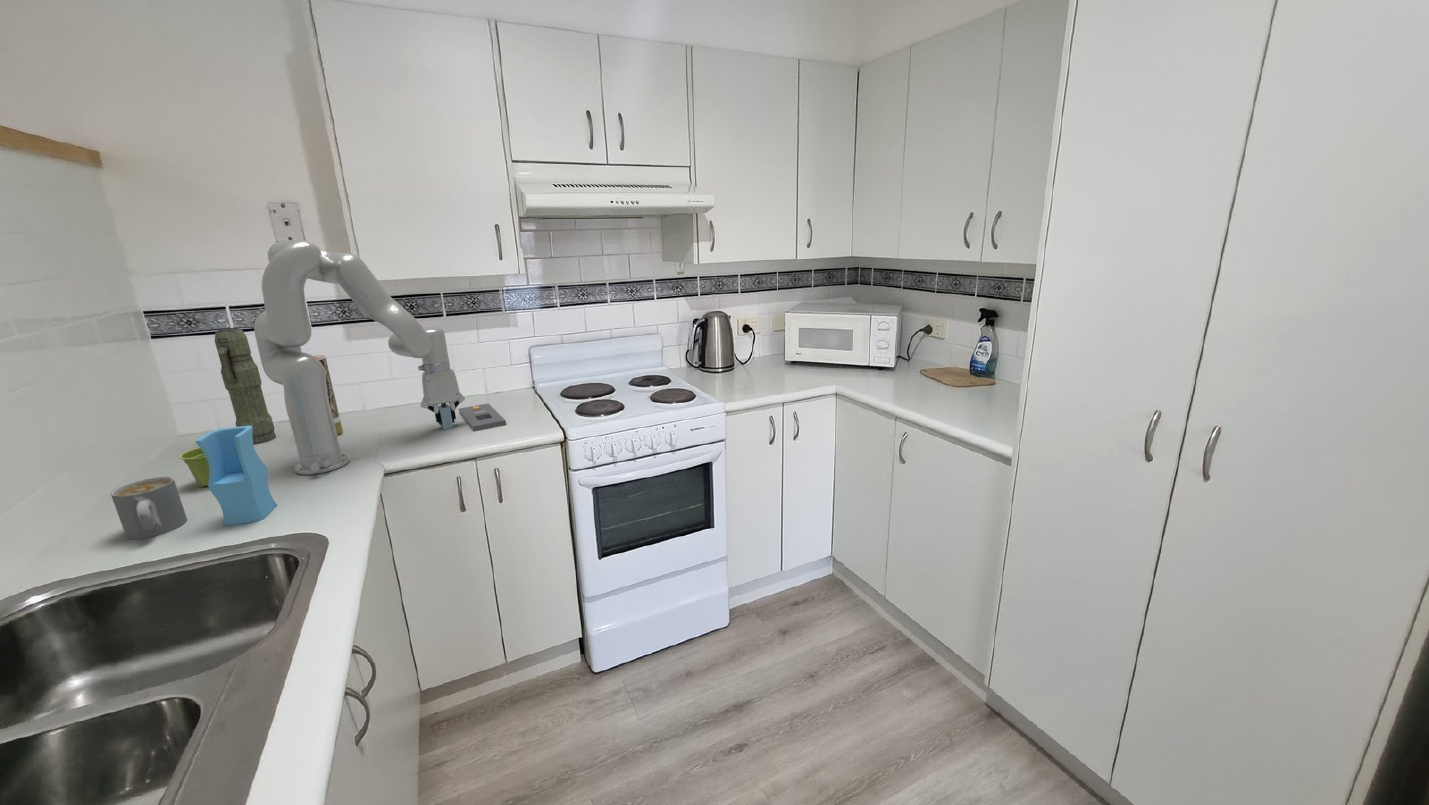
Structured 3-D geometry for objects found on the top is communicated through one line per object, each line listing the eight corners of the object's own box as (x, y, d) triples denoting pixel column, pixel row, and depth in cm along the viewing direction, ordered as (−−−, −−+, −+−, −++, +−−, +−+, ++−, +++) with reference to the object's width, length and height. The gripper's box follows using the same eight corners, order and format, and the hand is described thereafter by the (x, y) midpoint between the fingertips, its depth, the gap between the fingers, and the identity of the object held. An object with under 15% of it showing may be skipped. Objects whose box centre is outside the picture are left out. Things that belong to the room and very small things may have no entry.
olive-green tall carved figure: (233, 448, 175) (199, 333, 165) (251, 435, 186) (220, 327, 176) (267, 444, 178) (236, 330, 168) (282, 432, 189) (254, 324, 178)
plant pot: (243, 479, 153) (234, 448, 150) (199, 493, 145) (188, 460, 142) (227, 472, 157) (218, 442, 155) (183, 486, 149) (173, 454, 147)
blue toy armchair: (221, 526, 127) (194, 441, 121) (238, 510, 134) (213, 429, 129) (262, 520, 129) (238, 436, 123) (277, 505, 137) (255, 424, 131)
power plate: (506, 424, 188) (505, 418, 187) (473, 431, 183) (472, 424, 182) (489, 407, 207) (488, 401, 207) (459, 413, 202) (458, 406, 202)
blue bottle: (453, 427, 187) (449, 404, 185) (443, 429, 185) (439, 405, 183) (451, 424, 190) (447, 401, 188) (441, 426, 189) (437, 402, 187)
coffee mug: (136, 523, 130) (122, 482, 127) (193, 512, 134) (180, 473, 131) (110, 551, 119) (93, 507, 116) (173, 538, 123) (158, 495, 120)
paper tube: (340, 436, 183) (322, 358, 175) (315, 439, 180) (296, 361, 173) (345, 430, 189) (327, 354, 181) (320, 433, 186) (302, 356, 179)
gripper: (409, 373, 175) (420, 431, 180) (466, 365, 183) (475, 420, 189) (406, 369, 181) (417, 425, 186) (462, 361, 189) (471, 415, 195)
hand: (446, 422), depth 187 cm, fingers closed on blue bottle, 3 cm apart
